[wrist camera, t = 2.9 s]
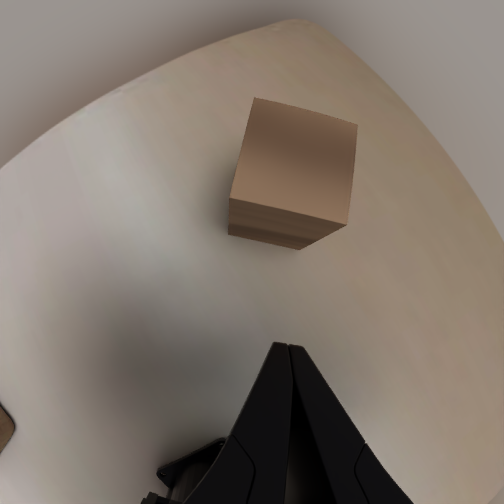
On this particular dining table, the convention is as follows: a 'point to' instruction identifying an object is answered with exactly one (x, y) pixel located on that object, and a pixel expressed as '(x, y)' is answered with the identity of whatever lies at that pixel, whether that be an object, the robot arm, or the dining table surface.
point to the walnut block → (292, 176)
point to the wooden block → (5, 428)
